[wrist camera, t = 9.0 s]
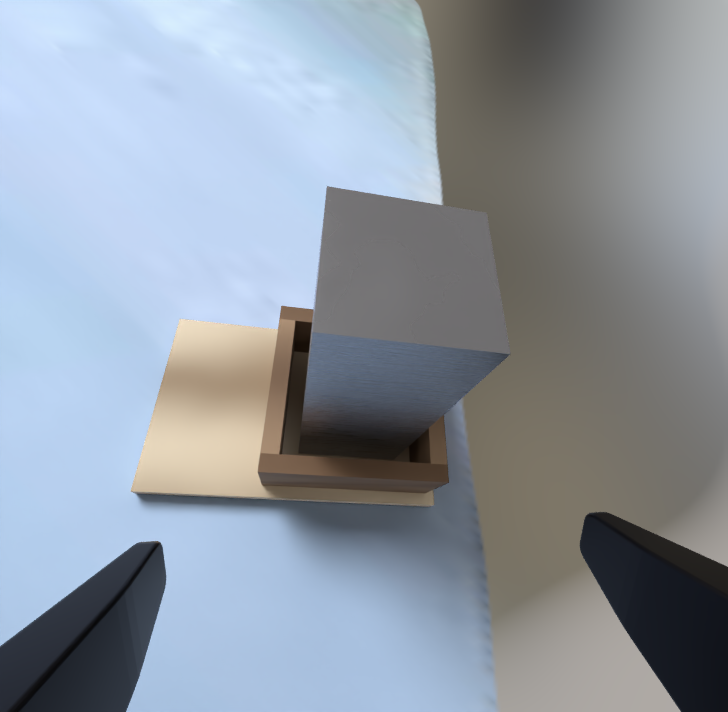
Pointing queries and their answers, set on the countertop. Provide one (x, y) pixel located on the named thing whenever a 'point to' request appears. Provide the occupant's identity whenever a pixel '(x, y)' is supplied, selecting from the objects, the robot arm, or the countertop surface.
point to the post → (397, 322)
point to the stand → (263, 426)
